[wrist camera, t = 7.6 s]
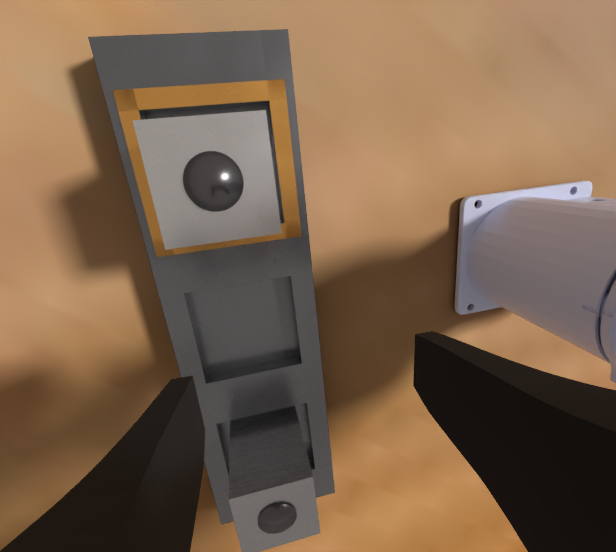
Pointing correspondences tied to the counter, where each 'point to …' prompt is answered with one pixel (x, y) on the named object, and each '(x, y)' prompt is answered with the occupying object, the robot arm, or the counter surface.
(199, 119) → the drawer with knob
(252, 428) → the nut
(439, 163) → the counter surface
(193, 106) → the rail
